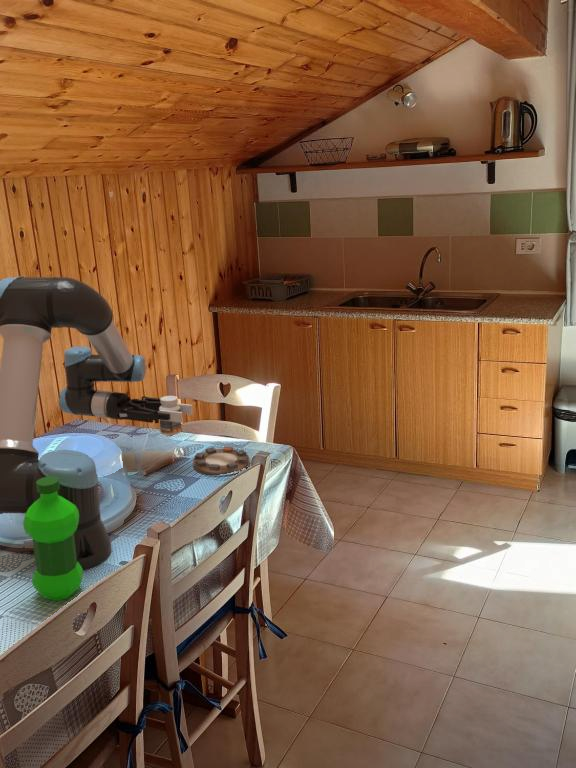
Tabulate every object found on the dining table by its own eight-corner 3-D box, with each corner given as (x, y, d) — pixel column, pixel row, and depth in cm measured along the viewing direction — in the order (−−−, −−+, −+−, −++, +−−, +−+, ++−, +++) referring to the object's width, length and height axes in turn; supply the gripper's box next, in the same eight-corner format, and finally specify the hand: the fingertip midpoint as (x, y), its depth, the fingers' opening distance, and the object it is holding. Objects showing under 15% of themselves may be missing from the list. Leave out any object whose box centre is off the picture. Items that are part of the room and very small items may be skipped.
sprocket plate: (240, 478, 206) (240, 470, 205) (185, 473, 210) (184, 465, 209) (255, 456, 221) (255, 448, 220) (203, 451, 224) (203, 444, 224)
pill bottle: (177, 436, 205) (175, 402, 202) (157, 435, 206) (155, 400, 203) (184, 429, 210) (182, 395, 207) (164, 428, 211) (162, 394, 208)
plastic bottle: (48, 577, 159) (35, 468, 152) (94, 582, 157) (84, 472, 150) (23, 604, 150) (8, 489, 143) (72, 610, 148) (60, 494, 141)
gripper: (129, 407, 221) (202, 415, 214) (94, 429, 204) (172, 438, 197) (127, 383, 219) (201, 390, 212) (92, 402, 202) (170, 411, 195)
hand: (186, 413), depth 204 cm, fingers closed on pill bottle, 6 cm apart
